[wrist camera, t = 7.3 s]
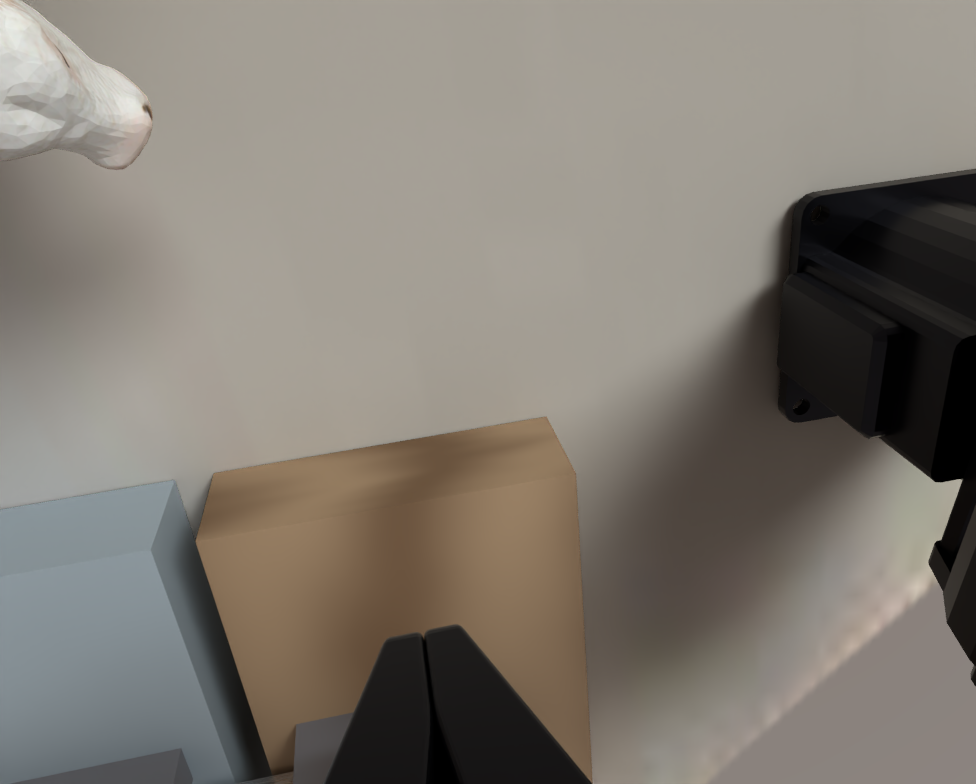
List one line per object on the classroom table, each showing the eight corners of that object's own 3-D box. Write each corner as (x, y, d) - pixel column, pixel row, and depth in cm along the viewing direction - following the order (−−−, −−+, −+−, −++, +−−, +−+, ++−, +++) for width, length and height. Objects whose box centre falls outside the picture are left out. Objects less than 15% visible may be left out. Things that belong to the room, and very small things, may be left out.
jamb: (546, 416, 22) (605, 531, 17) (576, 831, 30) (621, 988, 25) (213, 473, 21) (176, 613, 16) (338, 886, 29) (338, 1061, 24)
